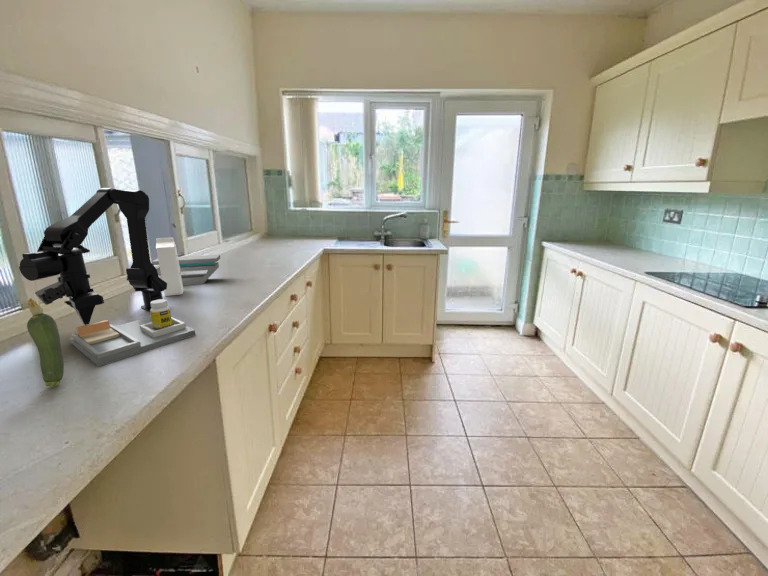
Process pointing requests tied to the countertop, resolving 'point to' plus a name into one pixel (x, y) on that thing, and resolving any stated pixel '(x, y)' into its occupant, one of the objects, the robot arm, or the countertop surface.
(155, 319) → the supplement bottle
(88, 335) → the lid
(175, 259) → the milk
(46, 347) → the vegetable
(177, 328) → the grey divided tray
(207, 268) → the grey heavy duty stapler
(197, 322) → the countertop surface
